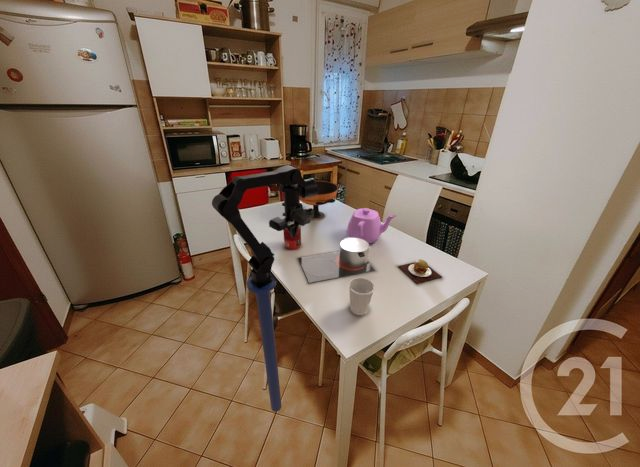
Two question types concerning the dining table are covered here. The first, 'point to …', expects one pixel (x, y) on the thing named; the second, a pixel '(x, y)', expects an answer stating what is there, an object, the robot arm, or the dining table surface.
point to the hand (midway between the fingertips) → (293, 237)
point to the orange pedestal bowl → (321, 197)
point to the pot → (353, 252)
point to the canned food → (292, 239)
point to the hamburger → (419, 271)
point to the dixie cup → (360, 295)
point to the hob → (328, 267)
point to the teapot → (367, 225)
